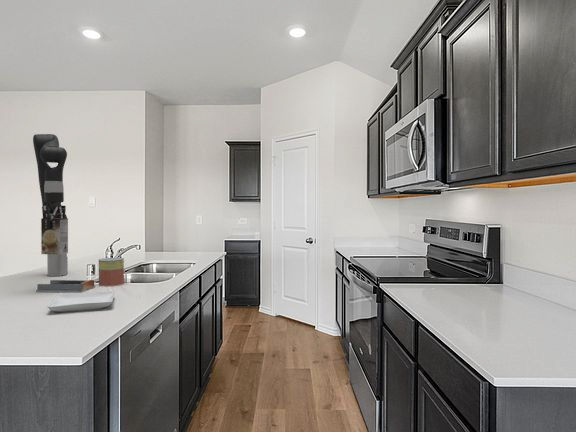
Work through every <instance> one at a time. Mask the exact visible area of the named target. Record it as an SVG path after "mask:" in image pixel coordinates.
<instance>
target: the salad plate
mask: <svg viewBox="0 0 576 432" xmlns="http://www.w3.org/2000/svg"><path fill="white" fill-rule="evenodd" d="M114 295H115V291H113V290H112V291H109V290H108V291H94V292H93V291H91V292H90V291H89V292H81V293H66V294H58V295H56V296H55V297H54V298H53V299H52V301H51V302H50V303H49V304H48V305H47V309H48V310H50V311H53V312H60V313H64V312H65V313H67V312H79V311H80V312H81V311H89V310H90V311H91V310H101V309H102V310H103V309H105V308H107V307H109V306H111V305H112V303H113V299H114Z"/></svg>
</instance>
